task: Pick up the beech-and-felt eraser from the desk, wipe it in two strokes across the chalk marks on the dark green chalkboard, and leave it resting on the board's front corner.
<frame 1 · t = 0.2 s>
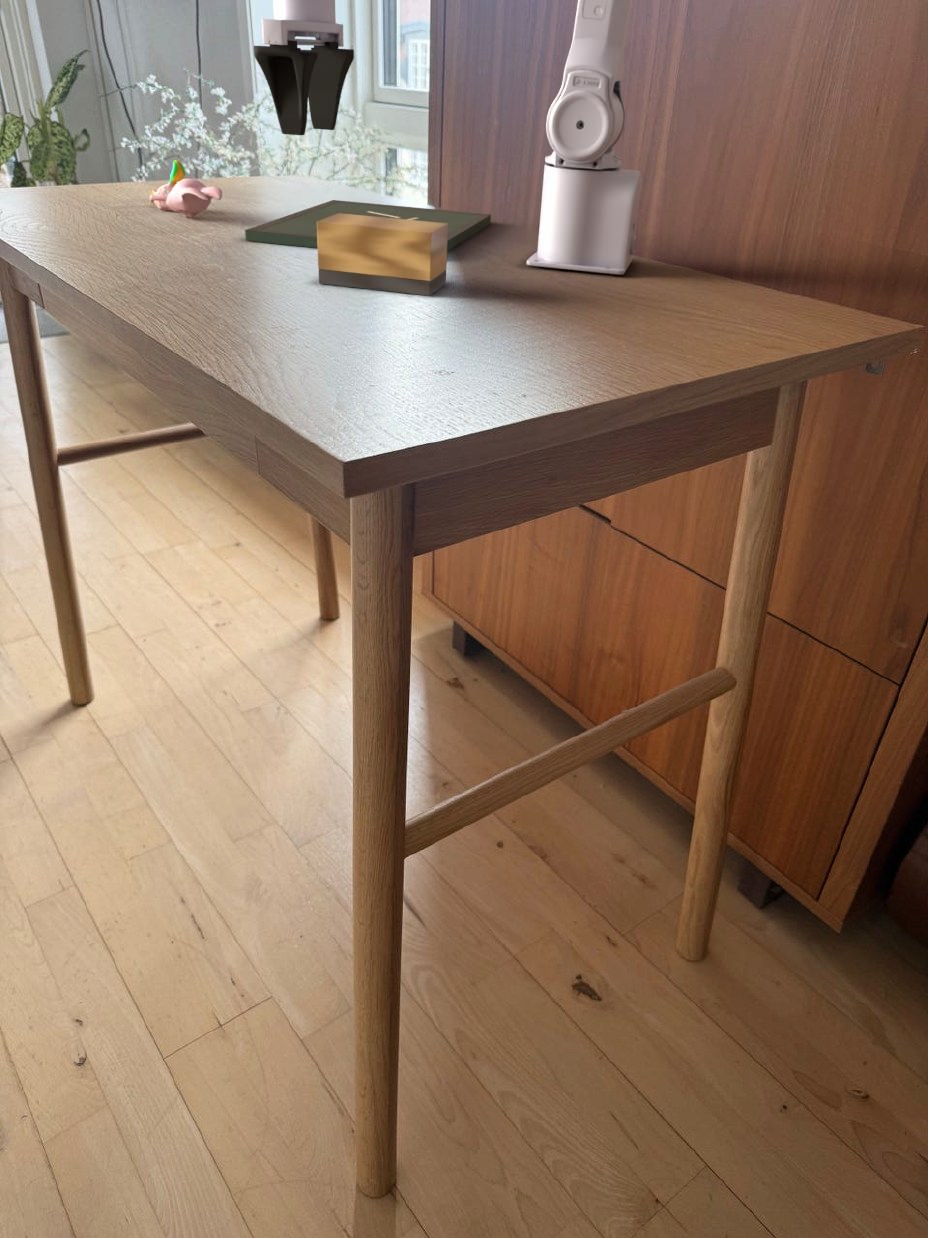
hand: (309, 131, 92), 10 cm above the table, tool pointing down, fingers open, 7 cm apart
chalkboard: (377, 231, 103), on the table
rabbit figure: (188, 218, 106), on the table
eraser: (383, 283, 81), on the table
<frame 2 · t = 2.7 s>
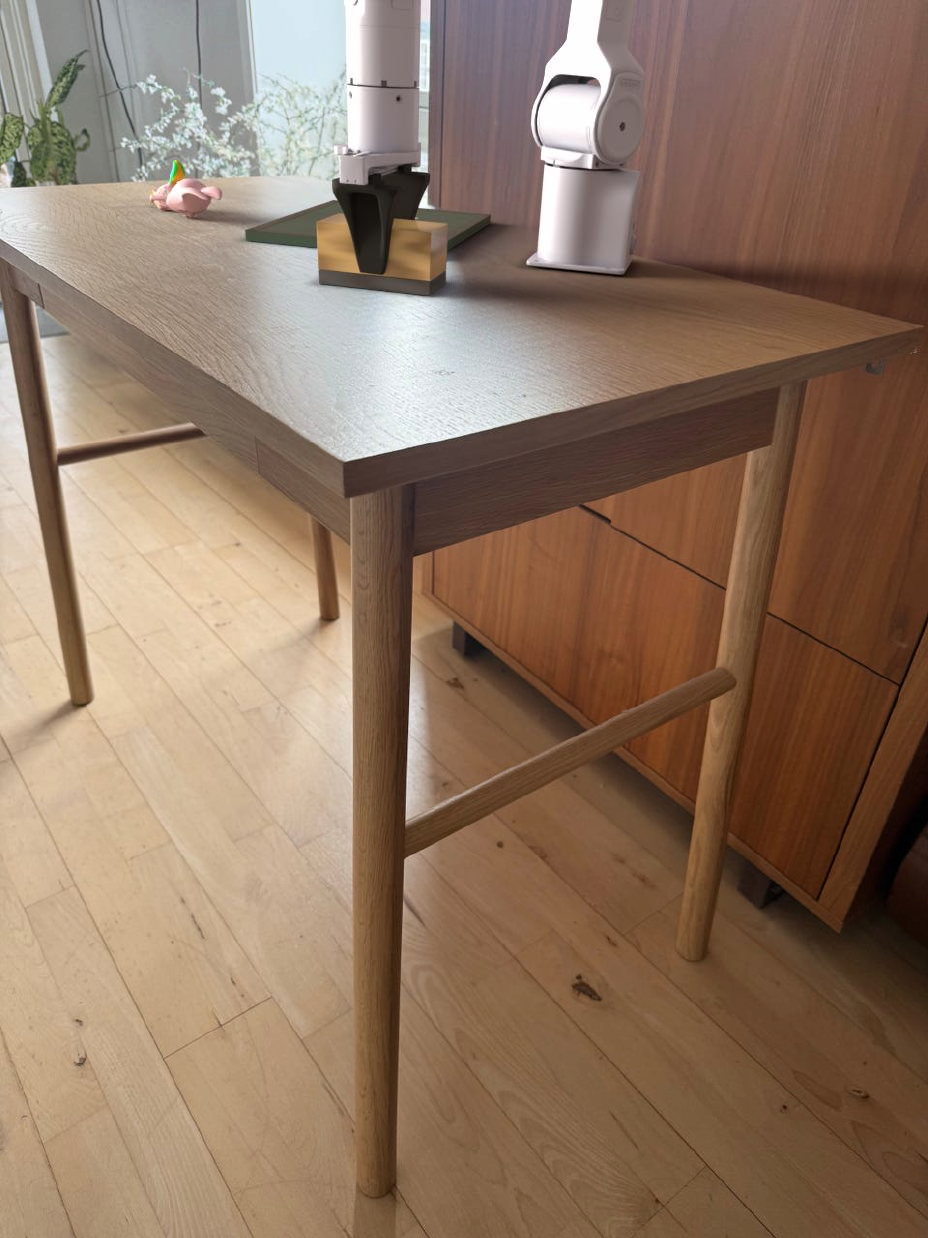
hand: (383, 266, 81), 1 cm above the table, tool pointing down, fingers closed on eraser, 5 cm apart
eraser: (383, 283, 81), on the table, touching gripper
everything else where it was.
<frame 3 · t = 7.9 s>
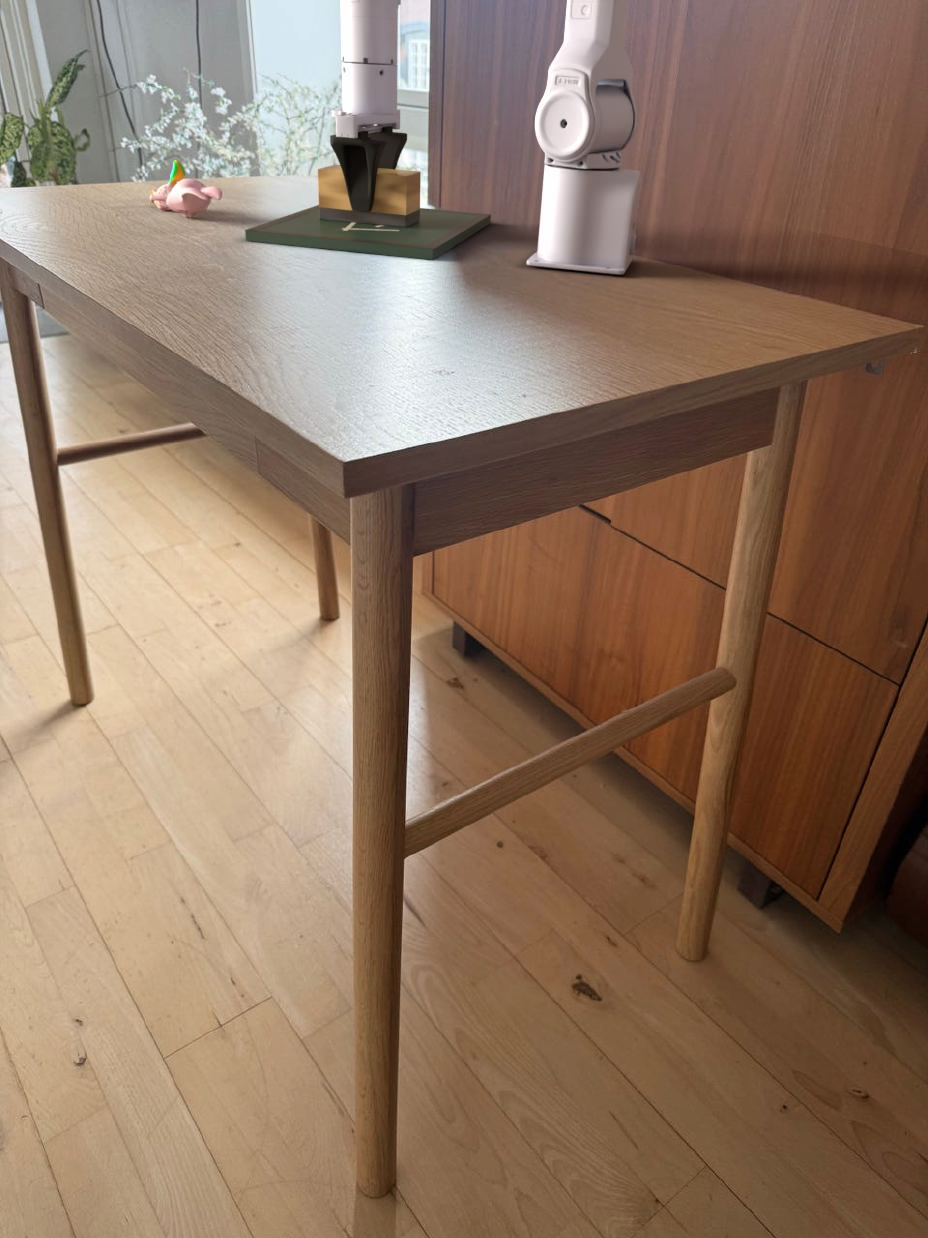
hand: (370, 207, 102), 2 cm above the table, tool pointing down, fingers closed on eraser, 5 cm apart
eraser: (370, 219, 103), point 1 cm above the table, touching chalkboard, gripper
everything else where it was.
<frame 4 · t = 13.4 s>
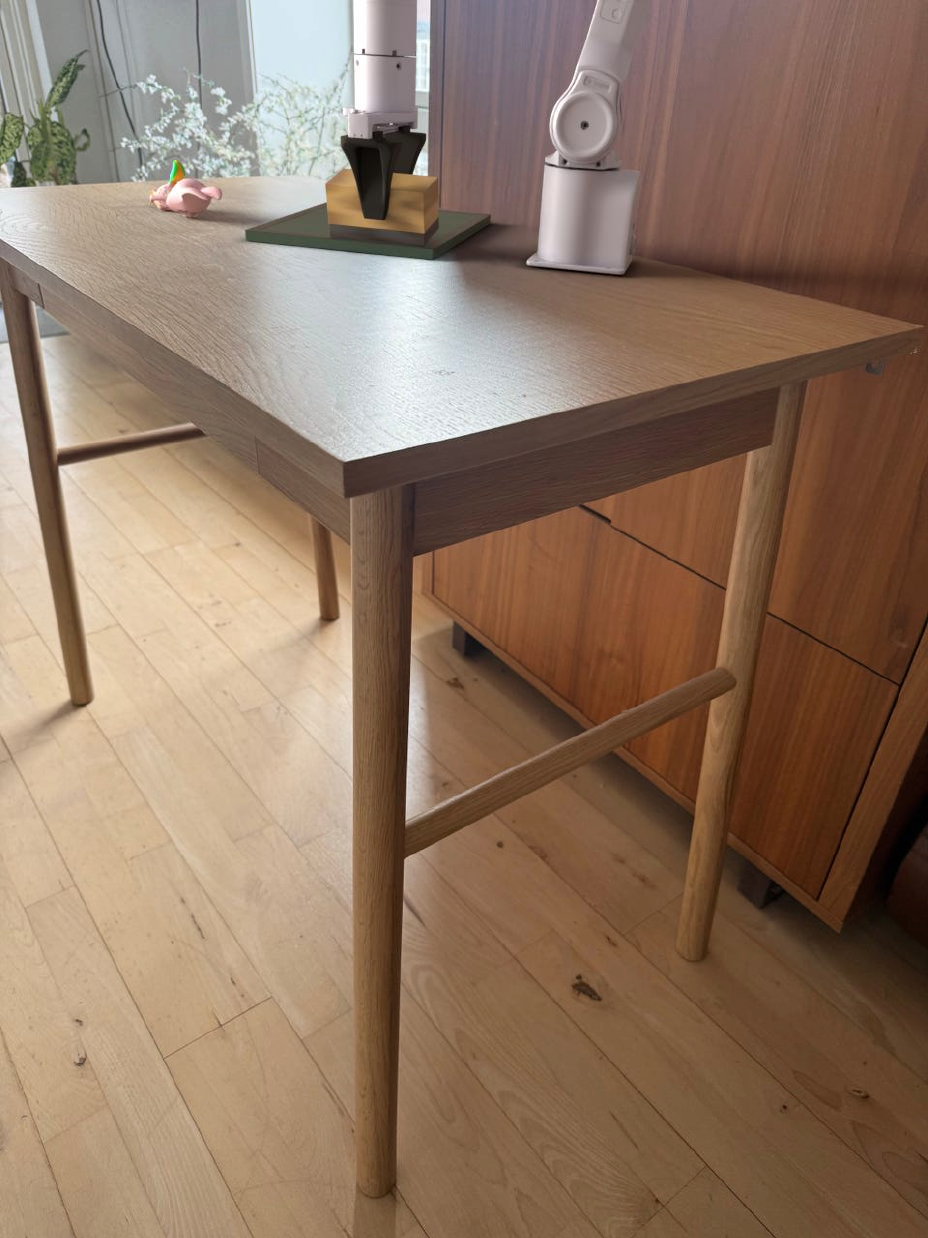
hand: (384, 214, 93), 3 cm above the table, tool pointing down, fingers closed on eraser, 5 cm apart
eraser: (384, 232, 94), point 1 cm above the table, tilted 10°, touching chalkboard, gripper
everything else where it was.
when the fingers open (3 cm above the table, at t = 13.9 s): eraser stays where it is, resting on chalkboard.
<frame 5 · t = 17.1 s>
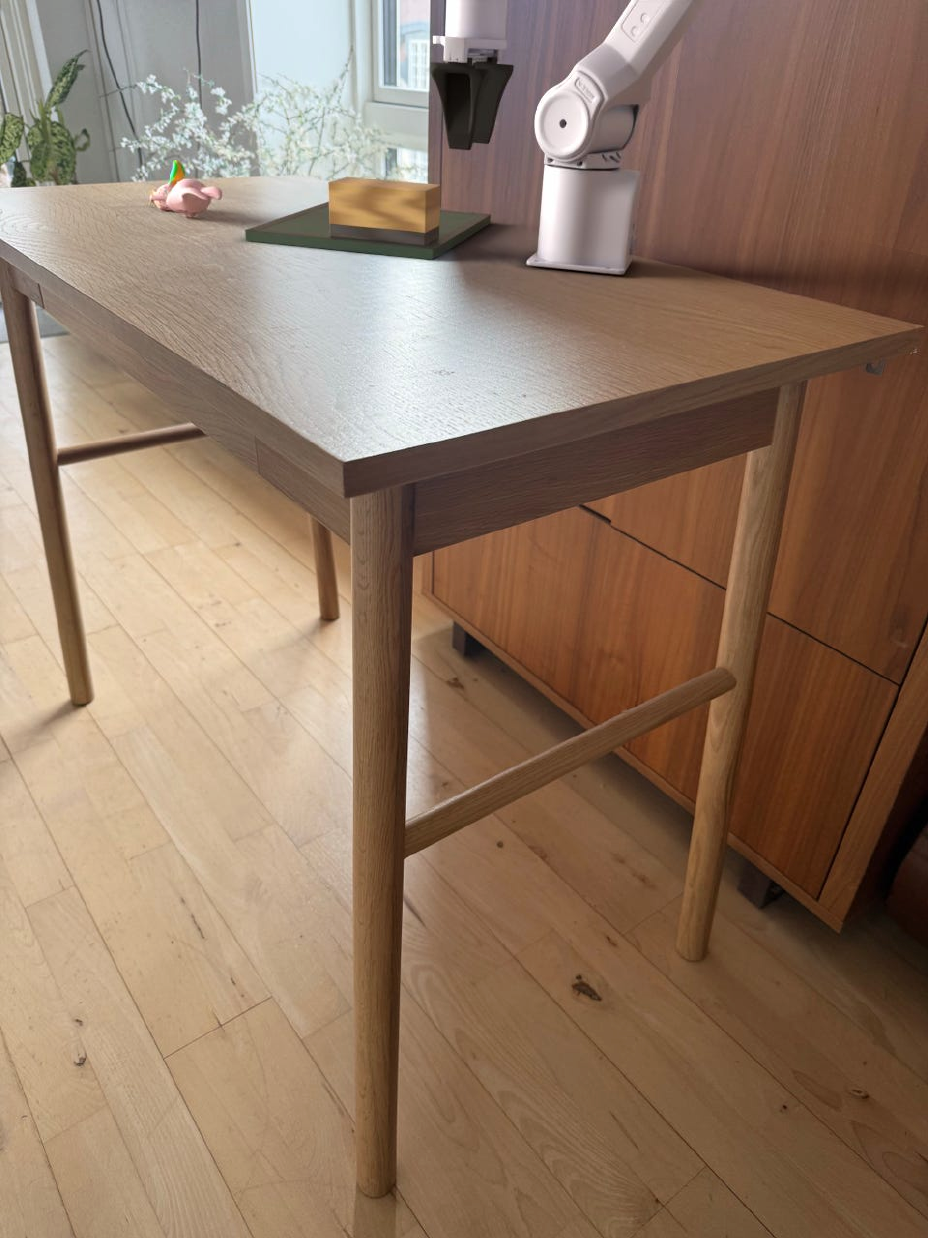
hand: (469, 145, 93), 9 cm above the table, tool pointing down, fingers open, 7 cm apart
eraser: (385, 237, 95), point 1 cm above the table, touching chalkboard
everything else where it was.
at the end: eraser 0.2 cm from the target spot on the chalkboard, point 1.0 cm above the chalkboard's base; eraser moved 16.4 cm from its start; the gripper is holding nothing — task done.
